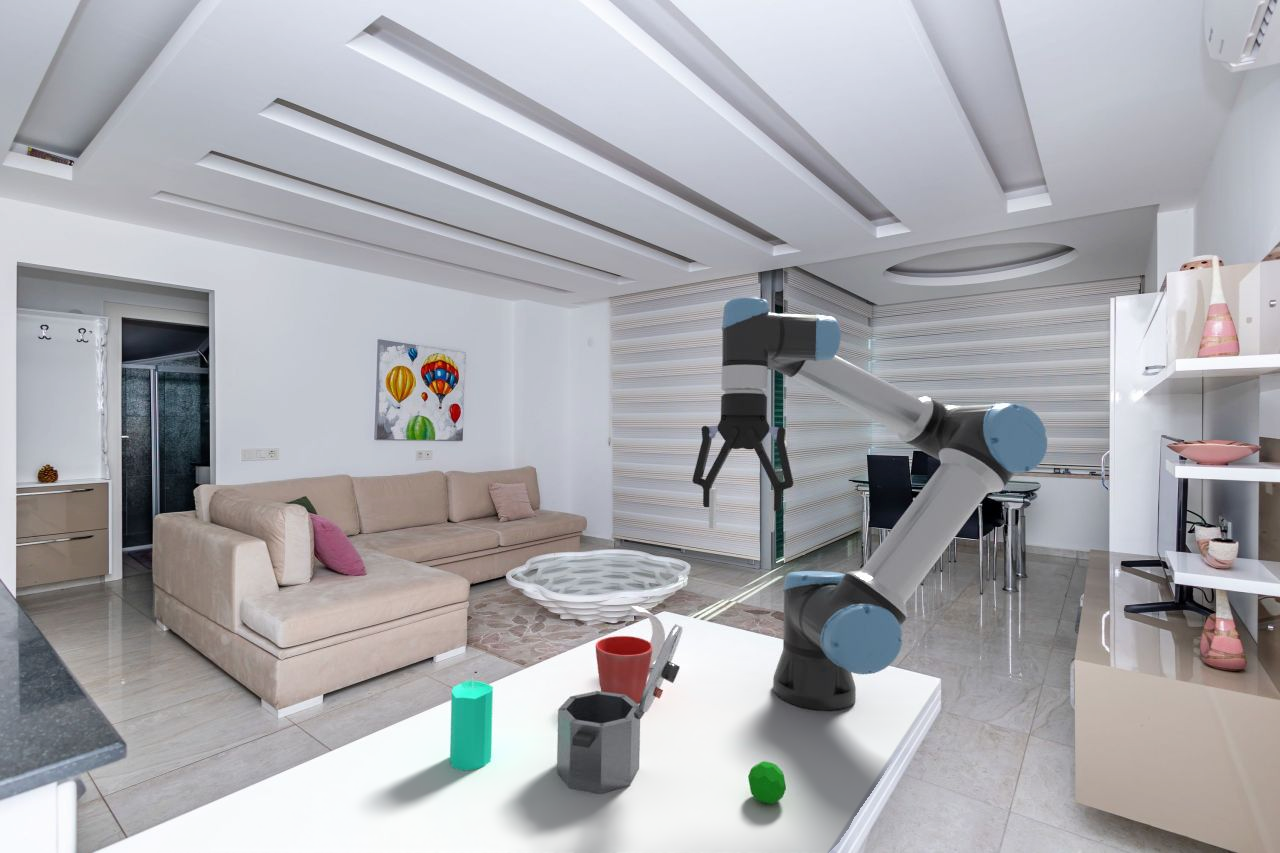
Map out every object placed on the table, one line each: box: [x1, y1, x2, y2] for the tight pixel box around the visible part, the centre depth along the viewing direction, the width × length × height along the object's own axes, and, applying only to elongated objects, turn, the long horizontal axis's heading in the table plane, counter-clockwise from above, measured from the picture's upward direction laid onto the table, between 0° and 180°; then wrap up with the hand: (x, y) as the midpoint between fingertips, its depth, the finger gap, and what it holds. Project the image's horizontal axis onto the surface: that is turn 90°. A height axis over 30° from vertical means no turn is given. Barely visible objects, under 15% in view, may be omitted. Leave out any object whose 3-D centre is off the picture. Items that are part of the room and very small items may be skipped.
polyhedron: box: [747, 760, 787, 805], centre depth 84 cm, size 5×5×5 cm
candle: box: [449, 677, 494, 771], centre depth 93 cm, size 6×6×12 cm
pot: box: [556, 690, 641, 795], centre depth 91 cm, size 11×15×9 cm
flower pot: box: [595, 635, 653, 704], centre depth 116 cm, size 11×11×10 cm
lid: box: [634, 623, 683, 720], centre depth 88 cm, size 13×12×3 cm
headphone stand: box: [630, 605, 666, 670], centre depth 132 cm, size 5×6×12 cm
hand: (741, 528), depth 103 cm, fingers open, 9 cm apart
